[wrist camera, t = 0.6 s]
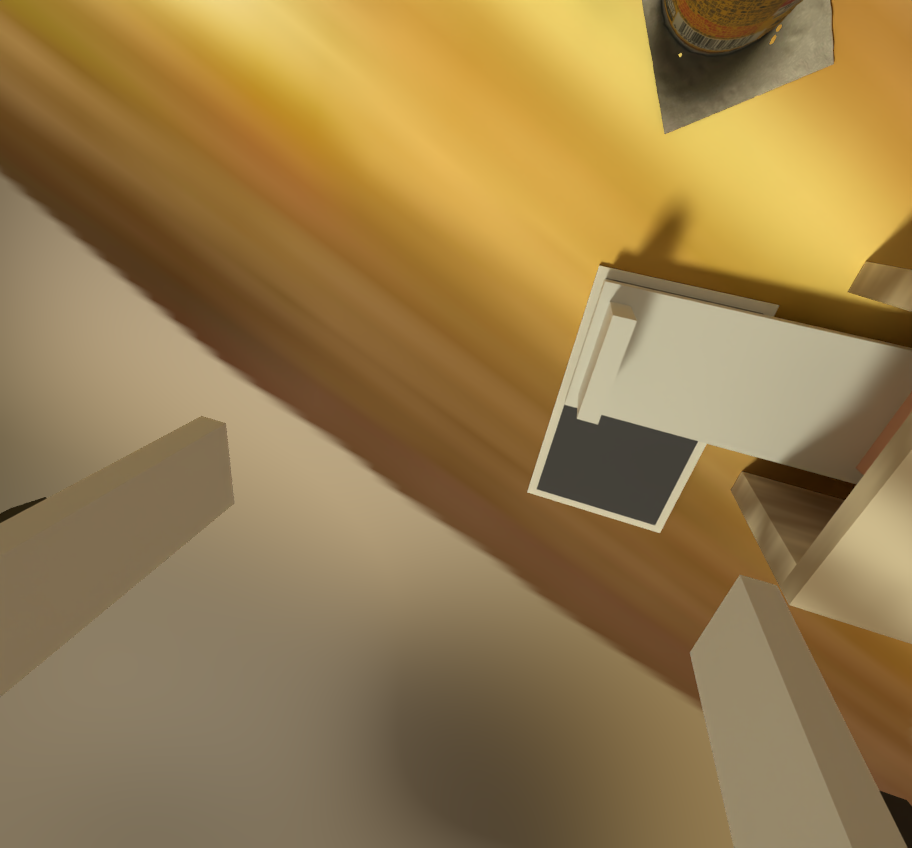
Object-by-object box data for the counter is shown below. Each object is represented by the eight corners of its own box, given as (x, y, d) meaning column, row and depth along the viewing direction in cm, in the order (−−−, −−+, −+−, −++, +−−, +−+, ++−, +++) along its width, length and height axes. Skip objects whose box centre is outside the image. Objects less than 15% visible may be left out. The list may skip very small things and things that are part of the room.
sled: (604, 278, 26) (609, 299, 20) (1084, 386, 23) (1273, 454, 16) (565, 397, 30) (559, 446, 24) (971, 507, 26) (1090, 600, 20)
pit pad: (599, 265, 27) (599, 265, 26) (777, 304, 25) (780, 305, 25) (527, 490, 35) (527, 493, 35) (659, 531, 33) (660, 534, 33)
